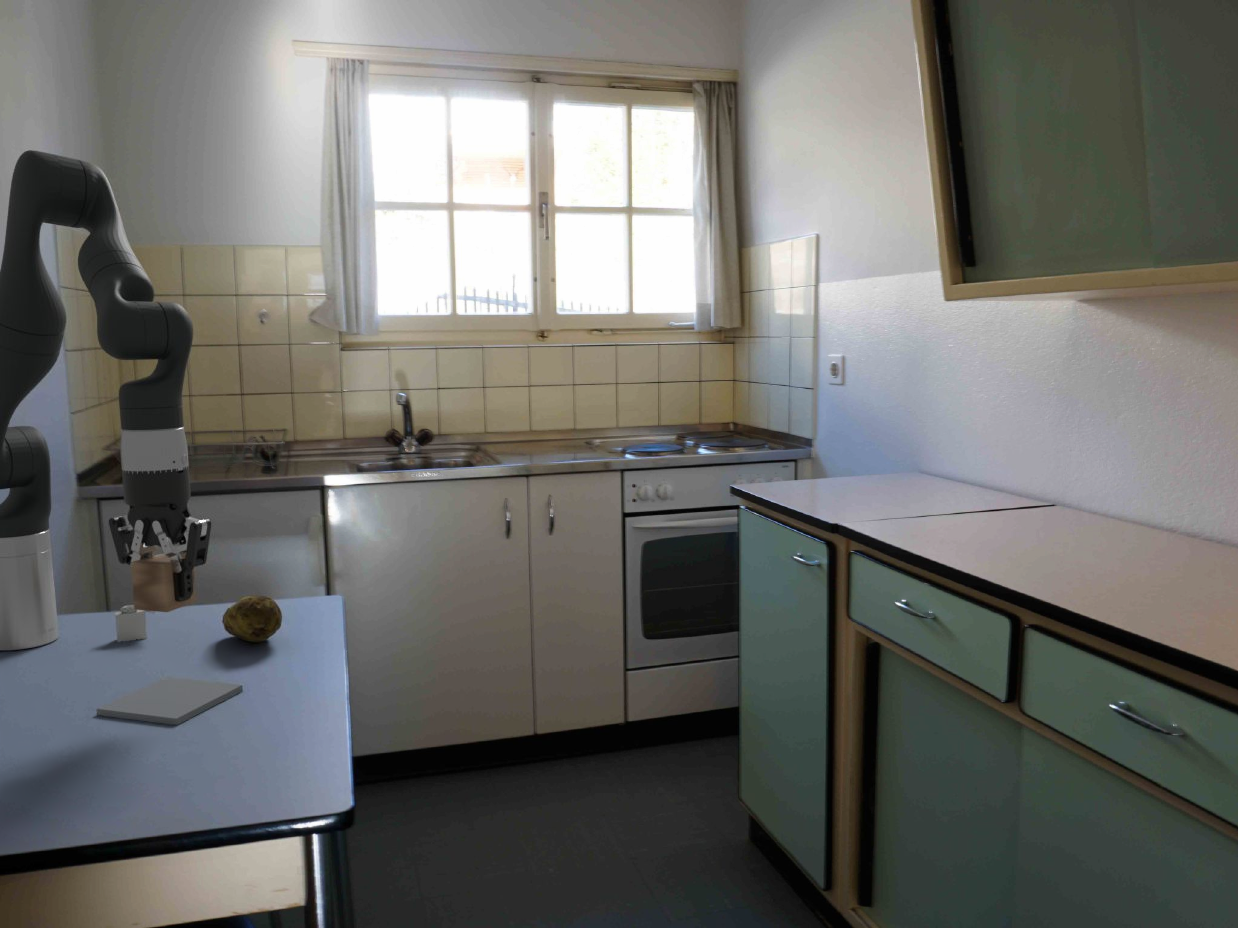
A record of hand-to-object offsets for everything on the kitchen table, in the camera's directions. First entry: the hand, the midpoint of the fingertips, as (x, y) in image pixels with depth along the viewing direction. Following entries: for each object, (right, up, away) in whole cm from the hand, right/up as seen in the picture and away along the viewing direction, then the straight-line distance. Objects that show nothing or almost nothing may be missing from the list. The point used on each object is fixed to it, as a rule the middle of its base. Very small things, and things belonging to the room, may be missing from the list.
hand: (165, 598), depth 123 cm
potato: (+1, -11, +26) cm, 28 cm away
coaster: (0, -14, +2) cm, 14 cm away
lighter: (-17, -10, +30) cm, 36 cm away
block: (0, -1, 0) cm, 1 cm away
